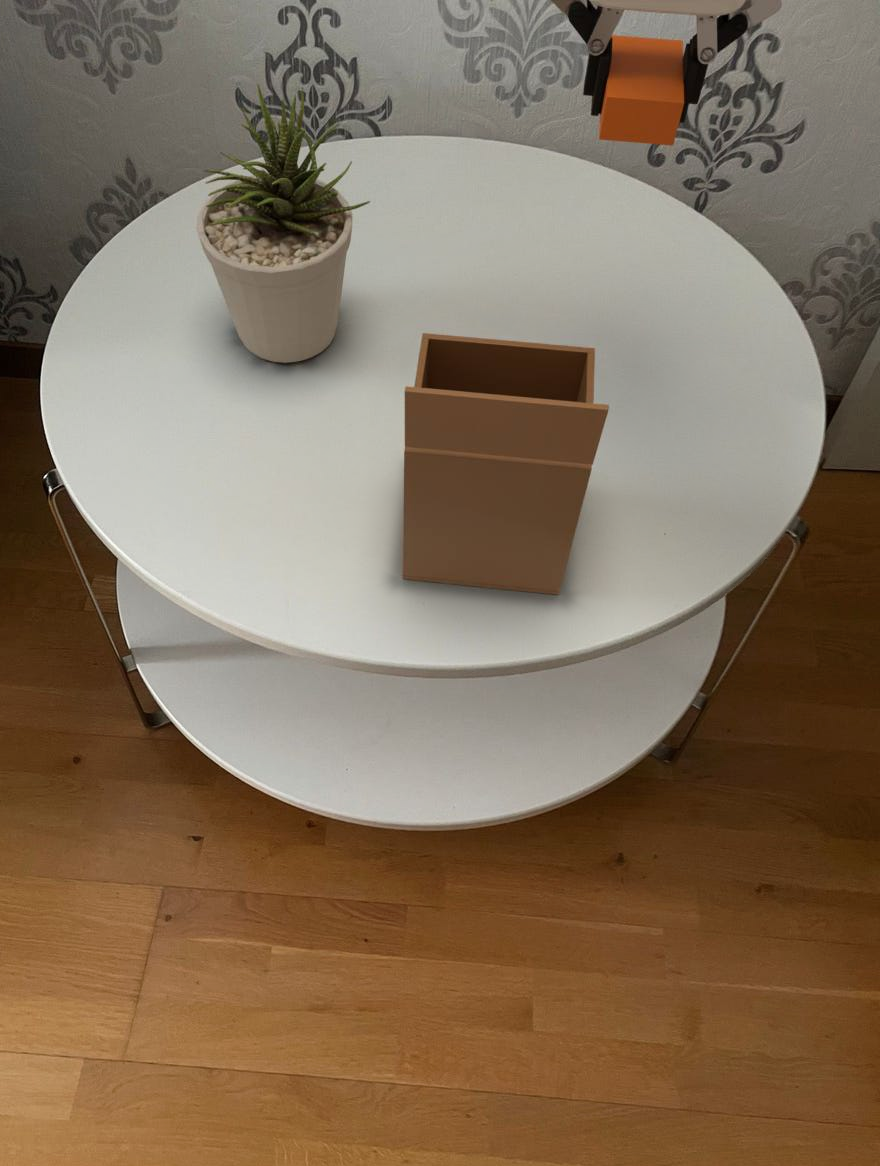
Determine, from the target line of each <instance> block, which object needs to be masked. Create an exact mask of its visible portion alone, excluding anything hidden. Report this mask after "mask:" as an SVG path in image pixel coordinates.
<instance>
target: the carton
mask: <svg viewBox="0 0 880 1166" xmlns="http://www.w3.org/2000/svg"><path fill="white" fill-rule="evenodd" d="M595 357H596V349H595V347H586V346H583V347H582V346H573V345H563V344H552V343H542V342H541V343H540V342H530V341H529V342H528V341H517V340H506V339H496V338H495V339H493V338H483V337H472V336H471V337H470V336H461V335H449V334H438V333H428V332H427V333H426V332H423V333H422V334H421V340H420V347H419V354H418V361H417V366H416V372H415V373H416V374H415V379H414V386H413V387H419V388H430V389H440V390H451V391H462V392H473V393H484V394H495V395H506V396H517V397H528V398H539V399H550V400H561V401H571V402H582V403H593V404H594V401H595V400H594V398H595V360H596V358H595ZM403 450H404V451H403V507H402V508H403V509H402V510H403V511H402V513H403V515H402V529H403V530H402V580H408V581H409V580H411V581H421V582H428V583H429V582H430V583H438V584H447V585H457V586H468V587H477V588H486V589H495V590H506V591H515V592H516V591H518V592H524V593H525V592H526V593H536V594H537V593H538V594H546V595H554V596H555V595H556V596H559V595H560V593H561V588H562V585H563V584H562V583H563V581H564V576H565V573H566V570H567V566H568V561H569V557H570V554H571V550H572V546H573V543H574V538H575V535H576V531H577V527H578V523H579V521H580V520H579V519H580V516H581V511H582V508H583V505H584V501H585V496H586V493H587V489H588V485H589V481H590V477H591V474H592V469H593V465H590V464H580V463H569V462H559V461H548V460H538V459H527V458H517V457H506V456H496V455H485V454H475V453H464V452H454V451H443V450H433V449H422V448H412V447H405V446H404V449H403Z"/></svg>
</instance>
